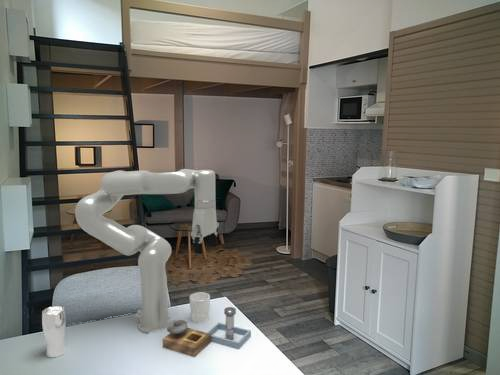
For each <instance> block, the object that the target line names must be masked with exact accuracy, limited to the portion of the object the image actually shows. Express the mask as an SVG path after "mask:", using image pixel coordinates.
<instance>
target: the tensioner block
mask: <svg viewBox="0 0 500 375" xmlns="http://www.w3.org/2000/svg"><path fill="white" fill-rule="evenodd" d="M166 330H167V332H168V333H169V334H167V335H166V336H164V337H163V338H162V340H161V341H162V348H163V349H168V350H170V351H175V352H177V353H180V354H183V355H187V356H190V357H193V358H196V357H197V356H198V355H199V354H200V353H201V352H202V351H203V350H204V349H205V348H207V347H208V346H209V345H210V344H211V343H212V342H211V334H209V333H207V332H205V331H201V330H199V329H195V328H194V329H193V328H189V327H188V322H187V321H186V320H184V319H174V320H172V321H170V322H169V323H168V324H167V328H166Z"/></svg>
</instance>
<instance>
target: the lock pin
mask: <svg viewBox="0 0 500 375" xmlns="http://www.w3.org/2000/svg"><path fill="white" fill-rule="evenodd" d="M236 311H237V309H236V308H235V307H232V306H228V307H225V308H224V311H223V312H224V315H225V323H224V324H225V331H224V333H225V334H224V338H225V339H229V340H233V341H234V338H235V337H234V335H235V333H234V326H235V315H236V313H237V312H236Z"/></svg>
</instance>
